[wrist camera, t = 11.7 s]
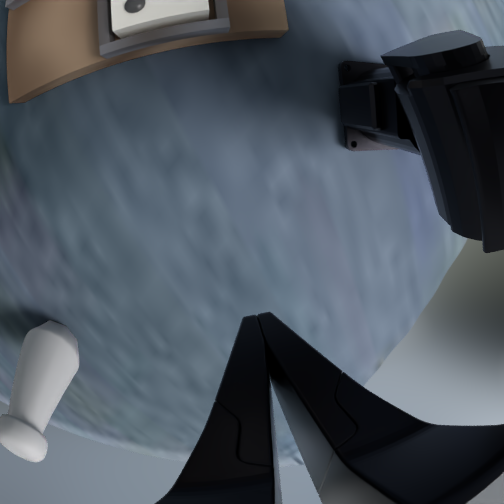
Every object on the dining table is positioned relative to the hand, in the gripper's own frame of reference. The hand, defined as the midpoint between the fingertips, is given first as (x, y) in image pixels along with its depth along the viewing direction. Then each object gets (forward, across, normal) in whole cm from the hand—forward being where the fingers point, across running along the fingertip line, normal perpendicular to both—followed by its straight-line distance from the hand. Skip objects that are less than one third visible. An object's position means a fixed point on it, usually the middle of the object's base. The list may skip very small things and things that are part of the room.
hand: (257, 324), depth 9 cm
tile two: (+10, +2, -14) cm, 18 cm away
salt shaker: (+12, +18, +9) cm, 24 cm away
